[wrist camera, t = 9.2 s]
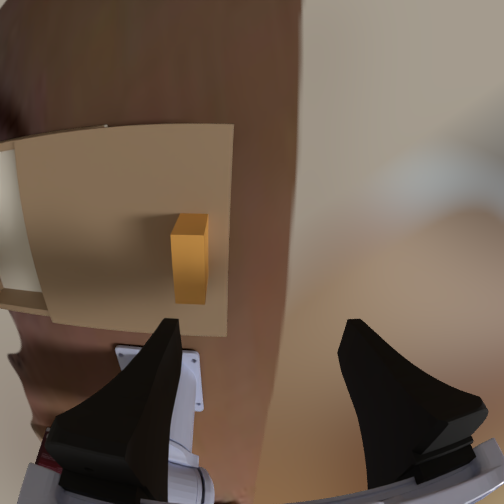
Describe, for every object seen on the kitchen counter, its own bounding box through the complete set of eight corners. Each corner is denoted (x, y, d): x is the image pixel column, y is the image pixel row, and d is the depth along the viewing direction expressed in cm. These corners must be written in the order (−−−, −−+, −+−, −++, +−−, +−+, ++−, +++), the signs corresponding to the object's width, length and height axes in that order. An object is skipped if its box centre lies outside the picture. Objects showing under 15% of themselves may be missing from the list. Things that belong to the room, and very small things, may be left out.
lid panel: (226, 331, 22) (226, 367, 19) (55, 317, 21) (37, 347, 17) (233, 123, 16) (234, 128, 12) (19, 139, 14) (-16, 150, 11)
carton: (125, 301, 24) (115, 324, 21) (4, 289, 23) (-11, 306, 20) (107, 124, 18) (88, 128, 15) (-26, 147, 17) (-48, 155, 14)
